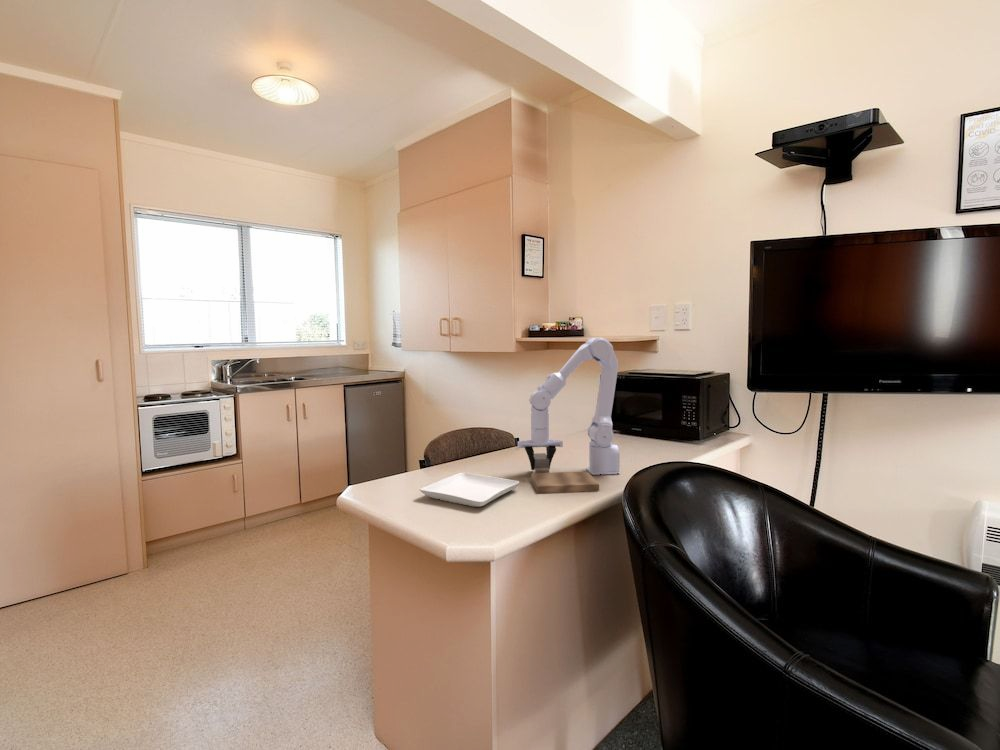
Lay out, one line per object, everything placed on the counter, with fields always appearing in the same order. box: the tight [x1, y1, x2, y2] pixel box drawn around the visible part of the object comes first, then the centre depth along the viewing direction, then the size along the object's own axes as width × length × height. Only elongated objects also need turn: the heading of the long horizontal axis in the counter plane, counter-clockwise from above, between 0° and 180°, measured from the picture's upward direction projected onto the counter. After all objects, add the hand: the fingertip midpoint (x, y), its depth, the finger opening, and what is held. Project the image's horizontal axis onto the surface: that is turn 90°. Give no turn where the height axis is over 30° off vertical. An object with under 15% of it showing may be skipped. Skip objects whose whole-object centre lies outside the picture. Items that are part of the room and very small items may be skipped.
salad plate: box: [419, 472, 520, 508], centre depth 141 cm, size 21×21×3 cm
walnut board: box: [530, 470, 600, 494], centre depth 149 cm, size 18×14×2 cm
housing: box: [531, 452, 550, 473], centre depth 162 cm, size 4×8×6 cm, turn 4°
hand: (540, 469), depth 162 cm, fingers closed on housing, 4 cm apart
